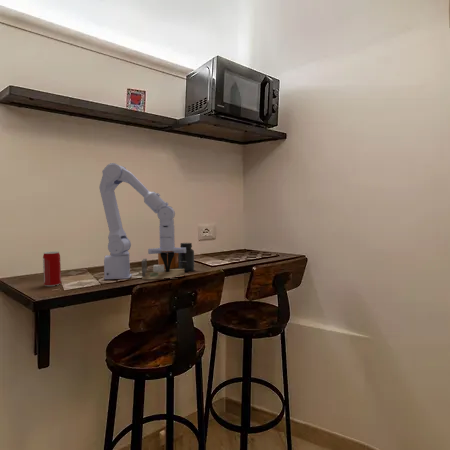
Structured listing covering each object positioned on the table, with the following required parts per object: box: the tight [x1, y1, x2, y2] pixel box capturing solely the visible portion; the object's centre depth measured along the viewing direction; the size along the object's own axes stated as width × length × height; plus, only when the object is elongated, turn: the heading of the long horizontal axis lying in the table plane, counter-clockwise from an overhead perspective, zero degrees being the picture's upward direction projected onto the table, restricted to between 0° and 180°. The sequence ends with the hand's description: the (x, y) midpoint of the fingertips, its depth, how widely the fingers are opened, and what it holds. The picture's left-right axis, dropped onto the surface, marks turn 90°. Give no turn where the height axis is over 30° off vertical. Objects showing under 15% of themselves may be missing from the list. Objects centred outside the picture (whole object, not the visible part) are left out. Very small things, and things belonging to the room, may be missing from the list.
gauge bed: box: [141, 258, 186, 280], centre depth 139 cm, size 16×7×7 cm, turn 98°
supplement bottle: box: [177, 242, 195, 273], centre depth 153 cm, size 7×7×12 cm
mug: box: [157, 251, 178, 270], centre depth 161 cm, size 9×12×9 cm
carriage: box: [152, 264, 165, 273], centre depth 139 cm, size 4×4×4 cm
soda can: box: [42, 251, 62, 287], centre depth 127 cm, size 6×6×12 cm
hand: (167, 271), depth 139 cm, fingers closed
